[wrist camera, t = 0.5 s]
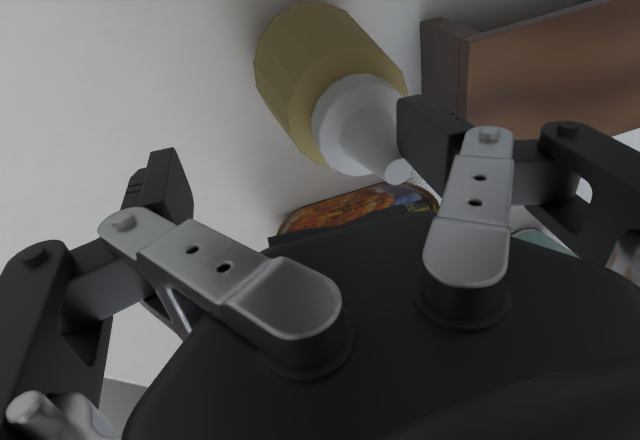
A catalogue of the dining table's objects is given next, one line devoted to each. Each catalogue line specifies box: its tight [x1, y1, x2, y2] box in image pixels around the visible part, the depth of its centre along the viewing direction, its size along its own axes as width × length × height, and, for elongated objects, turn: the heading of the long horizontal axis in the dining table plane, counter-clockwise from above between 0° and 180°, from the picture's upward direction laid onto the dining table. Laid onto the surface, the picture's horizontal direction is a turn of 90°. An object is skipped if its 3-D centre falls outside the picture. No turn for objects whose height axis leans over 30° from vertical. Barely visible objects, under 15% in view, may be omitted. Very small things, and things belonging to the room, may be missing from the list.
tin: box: [277, 182, 440, 235], centre depth 35 cm, size 15×3×8 cm, turn 100°
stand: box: [420, 0, 640, 140], centre depth 31 cm, size 11×18×7 cm, turn 101°
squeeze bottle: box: [253, 2, 412, 185], centre depth 22 cm, size 8×8×18 cm
